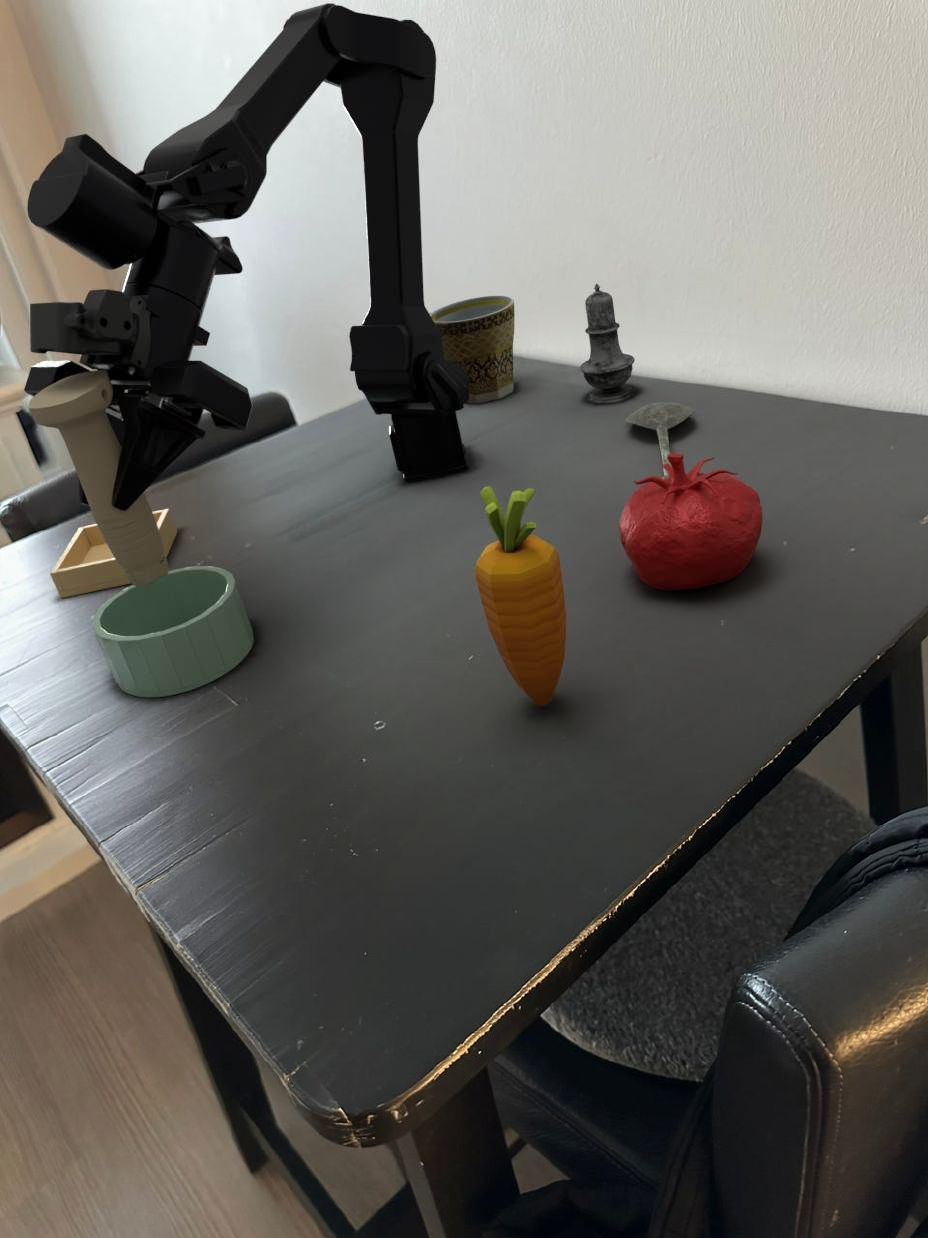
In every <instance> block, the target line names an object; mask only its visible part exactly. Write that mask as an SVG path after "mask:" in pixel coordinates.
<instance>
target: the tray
mask: <svg viewBox="0 0 928 1238" xmlns="http://www.w3.org/2000/svg"><path fill="white" fill-rule="evenodd" d="M152 513H153V515H154V518H155V521H156V524H157V526H158V529H159V532H160V536H161V539H162V543H163V547H164V550H163V553H164V556H165V557H166V559H168V555H169V553H170V551H171V548H172V546H173V544H174V541H175V539H176V537H177V534H178V529H177V526H176V523H175V521H174V518H173V514H172V513H171V510H170V508H164V509H160V510H159V509H158V510H155V511H152ZM125 573H126V572H125V570H124V569H123V567H121V566H120V565H119V563H118V562H117V560H116V559H115V557H114V556H113V554H112V552H111V551H110V549H109V547H108V545H107V543H106V541H105V540H104V538H103V536H102V534H101V532H100V530H99V527H98V525H97V523H94V524H88V525H85V526H80V527H78V529H77V530H76V532H75V534H74V535H73V536H72V538H71V540H70V541H69V543H68V544H67V546H66V548H65V549H64V551H63V552H62V554H61V555H60V557H59V559H58V560H57V562H56V563H55V565H54V567H53V568H52V570H51V571H50V573H49V575H50V577H51V579H52V581H53V584H54V586H55V588H56V591H57V592H58V595H59V597H60V599H63V598H64V599H65V598H68V597H74V596H77V595H83V594H87V593H92V592H97V591H101V590H107V589H111V588H115V587H121V586H125V585H130V584H131V582H130V581H129V580H128V578H127V576H126V574H125Z"/></svg>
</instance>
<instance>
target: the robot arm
mask: <svg viewBox="0 0 928 1238" xmlns="http://www.w3.org/2000/svg"><path fill="white" fill-rule="evenodd" d="M282 26H283V27H282V30H281V32H280V33H279V34H278V35H277V36H276V38H274V40H273V41H272V42H271V43H270V44H269V46H267V48H266V49H265V50H264V51H263V52H262V54H261V55H260V56H259V57H258V58H257V59H256V61H255V62H254V63H253V65H251V67H250V68H249V69H248V70H247V72H246V73H245V74H244V75H243V76H242V77H241V79H239V81H238V82H237V83H236V84H235V85H234V87H233V88H232V89H231V90H230V91H229V93H228V94H227V95H226V96H225V97H224V98H223V99H222V100H221V102H220V103H219V104H218V105H217V106H216V108H215V109H213V110H212V111H211V112H209V113H208V114H207V115H205V116H202V117H201V118H199V119H197V120H196V121H194V122H192V123H190V124H187V125H186V126H184V127H182V128H180V129H178V130H177V131H176V132H174V133H172V134H171V135H170V136H168V137H167V138H166V139H164V140H163V141H161V142H160V143H159V144H157V145H156V146H154V147H153V148H152V149H151V150H150V151H149V153H148V155H147V157H146V158H145V160H144V164H143V167H142V169H141V170H140V171H137V172H136V173H135V172H134V171H133V170H131V169H130V168H129V167H127V166H126V165H125V164H123V163H122V162H120V161H119V160H118V159H117V158H115V157H114V156H113V155H111V154H110V153H109V152H108V151H107V150H106V149H105V148H104V147H103V146H102V145H101V144H100V143H99V142H98V141H96V139H94V138H92V137H91V136H90V135H89V134H87V133H83V134H77V135H73V136H68V137H66V138H65V140H64V144H63V147H62V150H61V151H60V152H59V153H58V154H57V155H55V156H54V157H53V158H52V159H51V160H50V161H49V163H48V164H47V165H45V168H44V169H43V171H42V172H41V173H40V175H39V177H38V179H36V180H34V181H33V182H32V184H31V187H30V190H29V194H28V199H27V205H26V206H27V209H26V210H27V217H28V219H29V221H30V222H31V224H33V225H34V226H35V227H37V228H38V229H40V230H41V231H42V232H44V233H46V234H48V235H50V236H51V237H52V238H54V239H56V240H58V241H60V242H61V243H62V244H64V245H66V246H67V247H69V248H70V249H72V250H74V251H75V252H76V253H78V254H80V255H82V256H83V257H85V258H87V259H88V260H89V261H91V262H93V263H94V264H96V265H97V266H99V267H101V268H103V269H105V270H108V271H112V270H116V269H119V268H121V267H123V266H124V265H129V268H128V271H127V275H126V278H125V281H124V284H123V287H122V291H121V290H114V289H108V288H103V289H101V288H100V289H90V290H89V291H88V293H87V295H86V297H85V300H84V301H83V302H79V301H78V302H77V301H76V302H75V301H74V302H73V301H71V302H67V301H53V302H51V301H50V302H38V303H37V302H36V303H29V347H30V353H33V354H42V355H43V354H47V353H48V352H52V353H62V354H71V355H80V358H79V361H78V363H79V364H78V363H76V362H75V361H72V360H44V361H41V362H39V363H37V364H35V365H33V366H31V367H30V370H29V372H28V376H27V379H26V382H25V384H24V389H23V391H24V392H25V393H26V394H27V395H29V396H32V397H34V396H35V395H37V394H38V393H39V392H40V391H42V390H43V389H45V388H46V387H48V386H50V385H52V384H54V383H56V382H58V381H60V380H62V379H64V378H66V377H69V376H72V375H76V374H80V373H84V372H89V371H91V370H105V371H107V374H108V376H109V378H110V381H111V384H112V388H113V397H112V401H111V403H110V404H109V406H108V407H107V408H106V414H107V417H108V419H109V422H110V424H111V427H112V429H113V431H114V433H115V435H116V437H117V439H118V441H119V443H120V445H121V447H122V450H121V455H120V459H119V464H118V469H117V474H116V479H115V483H114V488H113V496H112V506H113V507H114V508H116V509H119V510H122V511H126V510H127V509H128V508H129V507H130V506H131V505H132V504H133V503H134V502H135V501H136V500H137V499H138V498H139V497H140V496H141V494H142V493H143V492H144V493H145V491H146V490H147V489H148V488H149V487H150V486H151V485H152V484H153V483H154V482H155V481H156V480H157V479H158V477H159V476H160V475H161V474H163V472H164V471H165V470H166V469H168V467H169V466H170V465H171V464H173V462H175V460H176V459H178V457H180V456H181V455H182V454H183V453H184V452H185V451H186V450H187V449H188V448H189V447H190V446H191V445H192V444H194V443H195V441H197V440H203V439H204V438H205V436H206V434H207V432H206V430H204V429H203V428H201V427H200V423H201V420H202V417H203V413H204V410H205V411H206V412H209V413H210V417H211V419H212V422H213V424H214V426H215V427H216V428H218V429H220V430H231V431H247V428H248V424H249V421H250V417H251V413H252V411H253V407H254V405H253V402H252V398H251V396H250V395H251V394H250V392H249V388H248V387H247V386H245V385H243V384H241V383H239V381H236V380H234V379H233V378H231V377H229V375H226V374H224V373H223V372H221V371H219V370H218V369H216V368H214V367H212V365H211V366H210V365H209V364H207V363H206V362H204V361H202V360H190V359H191V356H192V352H193V349H194V347H207V345H208V342H209V339H210V335H211V332H209V331H208V330H206V329H205V328H203V327H202V326H200V325H201V322H202V319H203V316H204V315H203V314H204V312H205V309H206V305H207V301H208V298H209V295H210V292H211V291H210V290H211V287H212V284H213V281H214V278H215V276H221V275H222V276H225V275H239V274H241V273H242V272H243V269H244V267H243V265H242V262H241V260H240V258H239V256H238V254H237V253H236V252H235V250H234V248H233V246H232V243H231V239H230V237H229V236H227V235H224V236H215V237H214V236H211V235H210V234H209V233H208V232H206V231H205V230H204V229H202V228H200V227H199V226H198V225H196V224H202V223H203V224H205V223H213V222H220V221H221V222H222V221H228V220H229V221H230V220H237V219H239V218H241V217H243V216H244V215H245V214H246V213H247V212H249V210H250V208H251V206H252V205H253V203H254V201H255V199H256V197H257V195H258V193H259V191H260V189H261V187H262V185H263V183H264V182H265V179H266V177H267V174H268V173H267V172H268V162H267V161H268V158H267V157H268V155H269V152H270V151H271V149H272V147H273V145H274V143H275V142H276V141H277V140H278V139H279V137H280V136H281V135H282V134H283V132H284V131H285V130H286V129H287V128H288V126H289V125H290V124H291V122H293V120H294V119H295V117H296V116H297V115H298V114H299V112H300V111H301V110H302V109H303V107H304V106H305V105H306V104H307V102H308V101H309V100H310V98H312V96H313V95H314V94H315V92H316V91H317V90H318V89H319V87H320V86H321V85H322V83H326V84H328V85H332V86H334V87H337V88H340V93H341V99H342V105H343V108H344V110H345V111H346V113H347V115H348V117H349V118H350V120H351V122H352V123H353V125H354V127H355V129H356V131H357V132H358V134H359V135H360V137H361V143H362V163H363V182H364V199H365V201H364V202H365V218H366V219H365V220H366V222H365V223H366V239H367V240H366V242H367V258H368V261H367V262H368V276H369V277H368V278H369V299H370V302H369V303H370V304H369V309H368V311H367V313H366V316H365V317H364V320H363V322H362V324H361V325H352V326H351V327H350V329H349V335H348V336H349V337H348V338H349V343H350V349H351V350H350V351H351V361H350V367H349V371H350V372H354V379H355V384H356V387H357V389H358V390H359V391H361V392H362V393H363V395H364V397H365V398H366V400H367V401H368V404H369V406H370V407H371V409H372V411H373V412H374V414H375V415H376V416H382V415H391V417H390V418H391V424H390V425H389V426H388V436H389V440H390V444H391V447H392V453H393V456H394V461H395V464H396V468H397V472H399V473H402V476H403V477H402V478H403V482H404V483H409V482H410V483H411V482H415V481H419V480H420V481H421V480H424V479H429V478H434V477H438V476H443V475H447V474H452V473H458V472H462V471H466V470H469V462H468V458H467V453H466V448H465V444H464V443H463V438H462V434H461V431H460V430H461V429H460V425H459V419H458V416H457V412H458V411H462V410H463V409H464V408H465V404H466V403H468V402H467V401H468V400H469V378H468V377H467V376H466V375H465V374H463V373H462V372H461V371H460V370H458V369H457V368H456V367H455V366H453V365H452V364H451V363H450V362H448V361H447V360H446V359H445V357H444V350H443V342H442V336H441V333H440V331H439V329H438V328H437V326H436V324H435V323H434V321H433V319H432V318H431V316H430V314H429V313H430V312H429V310H428V309H427V307H426V305H425V296H424V295H425V294H424V291H425V290H424V267H423V244H422V243H423V242H422V241H423V240H422V239H423V238H422V215H421V214H422V213H421V189H420V188H421V187H420V186H421V185H420V163H419V161H420V160H419V136H420V134H421V131H422V129H423V128H424V124H425V123H426V120H427V118H428V117H429V114H430V112H431V110H432V107H433V105H434V102H435V89H436V75H437V74H436V73H437V53H436V49H435V45H434V43H433V40H432V39H431V37H430V35H429V34H427V33H426V32H425V31H424V29H423V28H422V27H421V25H420V24H419V23H417V22H416V21H414V20H412V19H402V20H401V19H400V20H398V19H397V18H392V17H386V16H380V15H374V14H369V13H363V12H357V11H354V10H352V9H350V8H347V7H346V6H343V5H340V4H339V5H337V4H335V3H330V2H329V3H324V4H320V5H316V6H313V7H309V8H306V9H302V10H298V11H296V12H294V13H292V14H291V15H290V16H289V18H287V19H286V21H285V23H284V25H282ZM80 364H81V365H80ZM82 365H83V366H82ZM84 366H85V367H84ZM86 367H87V368H86ZM88 368H89V369H88ZM90 369H91V370H90ZM77 482H78V483H77V484H78V485H77V486H78V500H79V502H80V503H81V504H82V505H85V506H87V507H90V506H89V503H88V501H87V498H86V495H85V493H84V490H83V487H82V485H81V482H80V480H79V477H78V476H77Z"/></svg>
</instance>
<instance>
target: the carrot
mask: <svg viewBox="0 0 928 1238" xmlns="http://www.w3.org/2000/svg"><path fill="white" fill-rule="evenodd" d="M535 492H536V489H534V488H533V487H532V488H531V487H527V489H526V490H524V491H522V490H514V491H511V495H510V497H509V500H508V504H507V508H506V512H505V516H504V513H503V511H502V508H501V505H500V501H499V499H498V498H497V495H496V493H495V491H494V489H493V488H492V487H491V485H488V486H487V485H486V486H485V487H483V489H482V490H481V491H480V492H479V493H480V496H481V498H482V501H483V502H484V504H485V506H486V507H485V514H486V517H487V520H488V523H489V526H490V527H491V529H492V531H493V533H494V534H495V536H496V537H497V540H496V541H493V542H492V543H489V544H487V545H486V547H485V548H484V550H483V551H482V553H481V555H480V556H479V558H478V559H477V561H476V563H475V565H474V574H475V575H474V576H475V580H476V584H477V589H478V592H479V596H480V600H481V604H482V608H483V612H484V615H485V618H486V622H487V626H488V629H489V632H490V634H491V637H492V639H493V642H494V644H495V647H496V649H497V651H498V653H499V655H500V657H501V659H502V661H503V664H504V665H505V668H506V670H507V671H508V673H509V674H510V675H511V677H512V679H513V680H514V681H515V682H516V684H517V685H518V687H519V688H520V689H521V690H522V691H523V692H524V694H526V695H527V697H528V698H529V699H530V700H531V701H532V703H534V704H535V705H537V706H539V707H542V708H545V707H547V706H548V705H549V704H550V703H551V702H552V699H553V698H554V697H553V696H554V694H555V692H556V688H557V686H558V683H559V681H560V677H561V673H562V670H563V664H564V661H565V655H566V654H565V652H566V640H567V639H566V637H567V636H566V635H567V611H566V610H567V609H566V600H565V590H564V589H565V588H564V582H563V575H562V568H561V561H560V556H559V552H558V551H557V548H556V547H555V546H553V545H551V544H550V543H549V542H547V541H545V540H543V539H542V538H540V537H538V536H536V535H535V534H532V533H533V532H534V531H535V530H536V528H537V523H535V522H534V521H533V522H532V521H529V522H525V523H524V524H523V525H522V519H523V516H524V513H525V511H526V508H527V506H528V503H529V502H530V500H531V499H532V498H533V496H534V494H535Z"/></svg>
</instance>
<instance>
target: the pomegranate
mask: <svg viewBox="0 0 928 1238" xmlns="http://www.w3.org/2000/svg"><path fill="white" fill-rule="evenodd" d="M667 459H668V461H669V462H670V464H671V466H672V468H671V466H670V465H669V464H668V463H666V464H663V463H662V468H663V467H664V468H665V469H666V471H667V473H668V475H669V478H666V479H663V477H662V478H661V477H659V476H656V475H651V476H648V477H645V478H642V479H639V480H633V482H634V484H636V485H641V486H640V487H639V488H637V489H635V491H634V492H633V493H632V494H631V495H630V497H629V498H628V500H627V502H626V503H625V505H624V508H623V510H622V513H621V517H620V520H619V524H618V533H619V539H620V542H621V545H622V547H623V550H624V552H625V555H626V556H627V557H628V559H629V560H630V561H631V564H632V566H633V569H634V570H635V573H636V575H637V577H638V578H639V579H640V581H642V582H644V584H645V585H647V586H649V587H650V588H653V589H655V590H660V591H666V592H667V591H681V590H682V591H683V590H684V591H685V590H693V589H700V588H704V587H709V586H712V585H718V584H721V583H725V582H727V581H730V580H731V579H733V578H735V577H736V576H738V575H740V574H741V573H742V572H743V571H744V569H746V568H747V566H748V564H749V562H750V561H751V560H752V557H753V555H754V553H755V551H756V549H757V547H758V544H759V540H760V538H761V534H762V527H763V507H762V505H761V499H760V496H759V493H758V491H757V490H756V489H754V488H753V487H752V486H750V485H749V484H746V483H745V482H744V481H742V480H741V479H740V478H738V477H737V476H736V475H738V472H732V471H729V470H726V469H715V470H712V471H711V472H700V471H701V468H702V466H703V465H704V463H707V462H709V461H713V460H715V459H716V458H715V457H711V458H705V459H703V460H700V461H698V462H697V463H696V465H694V466H693V467H692V468H691V469H690V470H689V471H688V473H686V469H685V465H684V454H683V453H676V452H672V453H671V452H670V454H668V455H667Z"/></svg>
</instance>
